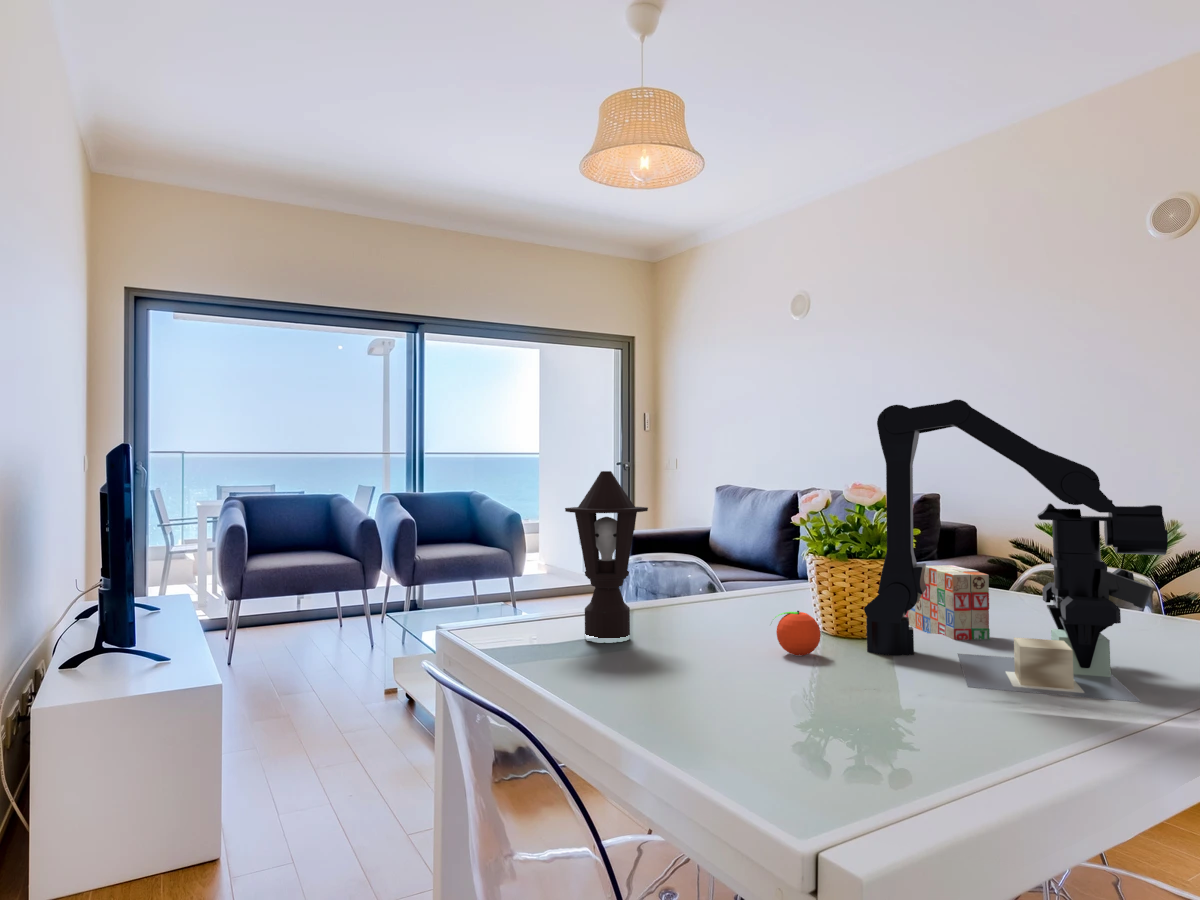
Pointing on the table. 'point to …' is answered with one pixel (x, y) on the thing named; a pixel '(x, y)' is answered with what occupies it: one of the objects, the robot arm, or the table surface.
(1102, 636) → the sage block
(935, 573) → the stack of blocks
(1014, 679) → the plate
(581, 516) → the lantern
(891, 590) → the robot arm
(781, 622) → the clementine
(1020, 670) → the maple block
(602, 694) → the table surface
